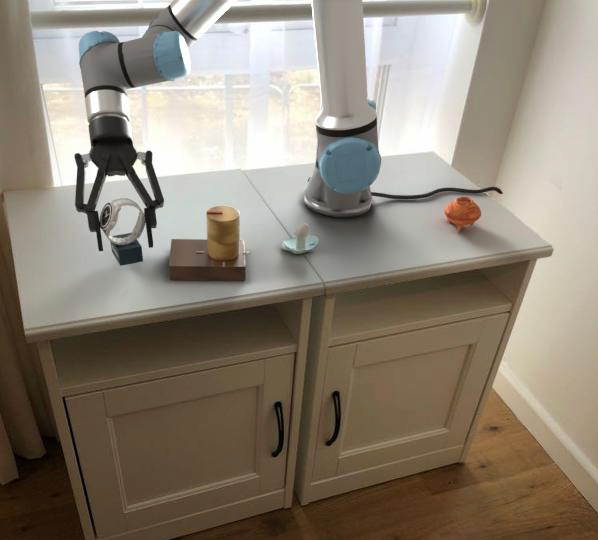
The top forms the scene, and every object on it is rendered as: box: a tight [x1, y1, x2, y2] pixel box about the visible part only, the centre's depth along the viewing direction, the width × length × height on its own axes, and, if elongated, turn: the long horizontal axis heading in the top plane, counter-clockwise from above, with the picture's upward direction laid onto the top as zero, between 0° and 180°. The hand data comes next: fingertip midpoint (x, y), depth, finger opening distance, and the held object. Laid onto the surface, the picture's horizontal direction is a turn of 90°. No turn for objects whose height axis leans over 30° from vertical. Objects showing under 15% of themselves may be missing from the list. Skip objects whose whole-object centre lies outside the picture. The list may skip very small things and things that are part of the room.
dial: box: [206, 205, 241, 261], centre depth 122 cm, size 6×6×8 cm
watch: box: [99, 197, 146, 267], centre depth 120 cm, size 6×8×11 cm
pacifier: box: [280, 222, 319, 255], centre depth 132 cm, size 7×6×6 cm
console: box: [168, 238, 251, 282], centre depth 126 cm, size 15×10×3 cm
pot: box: [443, 196, 482, 233], centre depth 144 cm, size 8×8×7 cm
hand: (126, 247), depth 119 cm, fingers closed on watch, 8 cm apart
